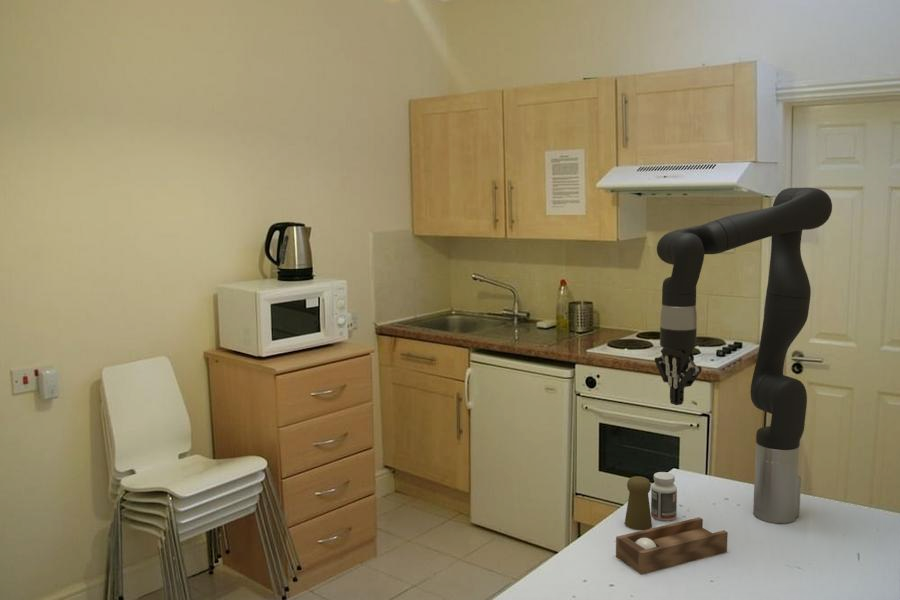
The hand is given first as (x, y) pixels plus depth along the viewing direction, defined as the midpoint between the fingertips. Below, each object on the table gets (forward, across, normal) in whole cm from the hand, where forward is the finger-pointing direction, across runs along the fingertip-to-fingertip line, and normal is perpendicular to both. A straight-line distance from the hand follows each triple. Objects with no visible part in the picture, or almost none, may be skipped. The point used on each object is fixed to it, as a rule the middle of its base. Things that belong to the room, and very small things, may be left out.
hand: (676, 403), depth 171 cm
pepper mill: (+29, +6, +5) cm, 30 cm away
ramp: (+29, -9, +8) cm, 31 cm away
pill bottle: (+29, +7, -3) cm, 30 cm away
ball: (+27, -9, +15) cm, 32 cm away
